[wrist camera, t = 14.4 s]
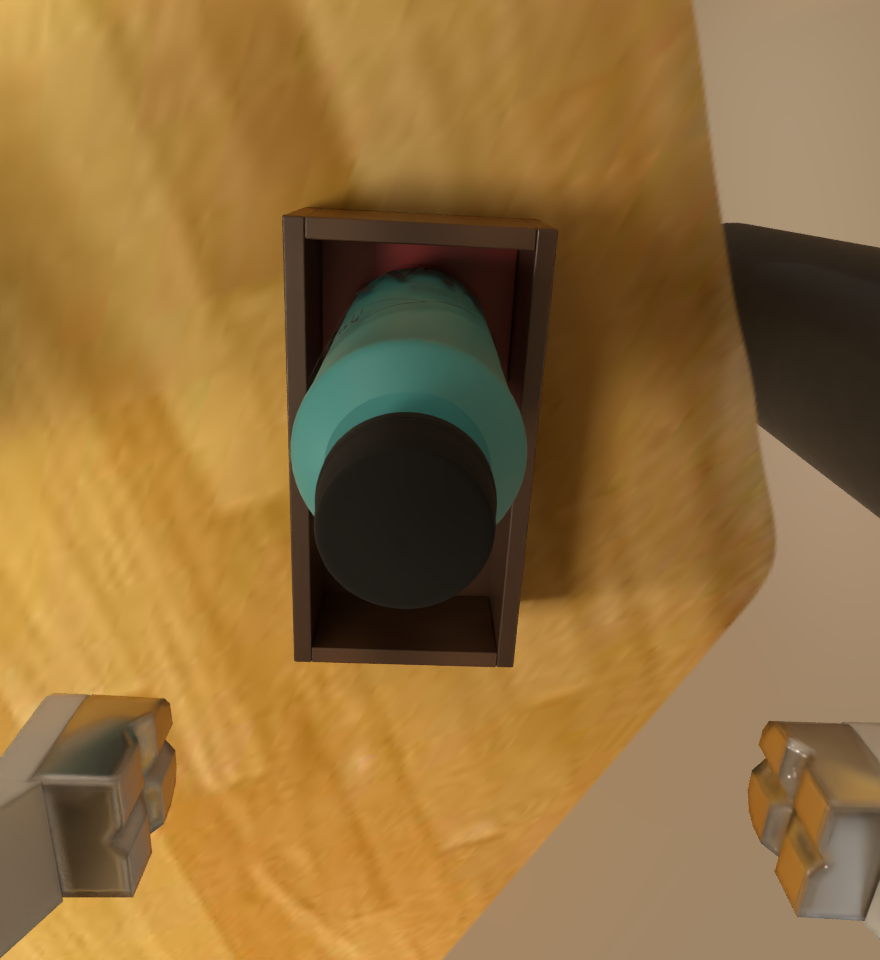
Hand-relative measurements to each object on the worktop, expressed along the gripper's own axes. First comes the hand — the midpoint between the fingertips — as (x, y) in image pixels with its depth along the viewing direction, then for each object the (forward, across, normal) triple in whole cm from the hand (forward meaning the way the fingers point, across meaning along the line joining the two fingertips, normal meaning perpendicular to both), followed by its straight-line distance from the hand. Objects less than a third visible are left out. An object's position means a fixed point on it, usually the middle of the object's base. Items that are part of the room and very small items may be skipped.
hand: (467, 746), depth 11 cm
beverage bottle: (+26, +1, 0) cm, 26 cm away
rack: (+27, +1, +4) cm, 27 cm away
